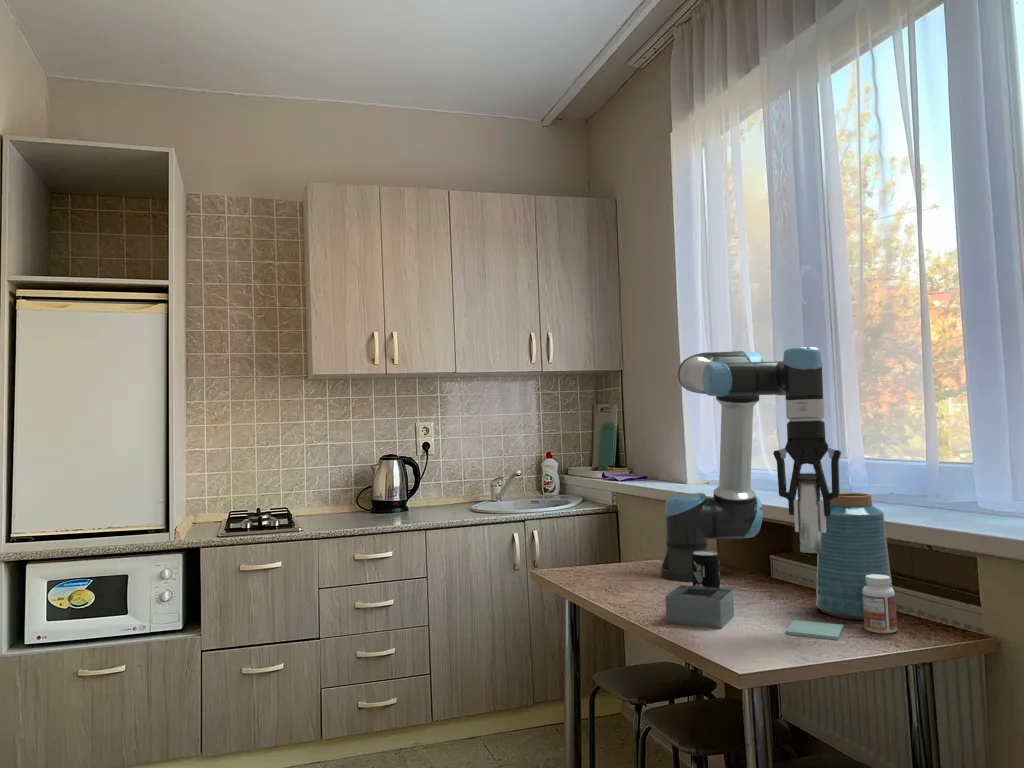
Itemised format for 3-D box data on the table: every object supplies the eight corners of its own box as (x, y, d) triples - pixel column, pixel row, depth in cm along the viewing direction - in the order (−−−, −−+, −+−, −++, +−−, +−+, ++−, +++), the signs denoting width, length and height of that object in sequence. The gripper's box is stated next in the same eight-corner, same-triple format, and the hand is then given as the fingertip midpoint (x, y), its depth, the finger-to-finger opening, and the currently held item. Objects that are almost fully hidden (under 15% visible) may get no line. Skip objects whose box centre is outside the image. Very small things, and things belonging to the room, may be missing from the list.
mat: (793, 622, 165) (793, 620, 165) (843, 627, 160) (843, 624, 160) (785, 634, 156) (785, 631, 156) (838, 639, 152) (838, 636, 152)
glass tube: (797, 552, 158) (793, 474, 159) (800, 548, 163) (797, 472, 164) (822, 553, 156) (819, 474, 157) (825, 550, 160) (822, 473, 161)
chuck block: (682, 610, 178) (681, 585, 178) (734, 615, 172) (733, 589, 173) (666, 623, 168) (665, 595, 168) (721, 628, 162) (720, 600, 162)
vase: (899, 608, 175) (893, 492, 177) (889, 625, 162) (882, 498, 163) (825, 601, 184) (819, 490, 186) (809, 615, 171) (803, 496, 172)
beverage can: (721, 605, 182) (719, 555, 183) (693, 605, 184) (691, 554, 184) (720, 599, 189) (718, 550, 190) (692, 598, 190) (691, 550, 191)
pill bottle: (887, 625, 161) (884, 572, 162) (903, 633, 155) (900, 578, 156) (858, 626, 161) (855, 573, 161) (874, 634, 155) (871, 579, 155)
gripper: (759, 421, 162) (764, 531, 160) (848, 419, 153) (854, 535, 152) (766, 421, 168) (770, 527, 167) (851, 419, 160) (857, 530, 159)
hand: (810, 531), depth 159 cm, fingers closed on glass tube, 4 cm apart
